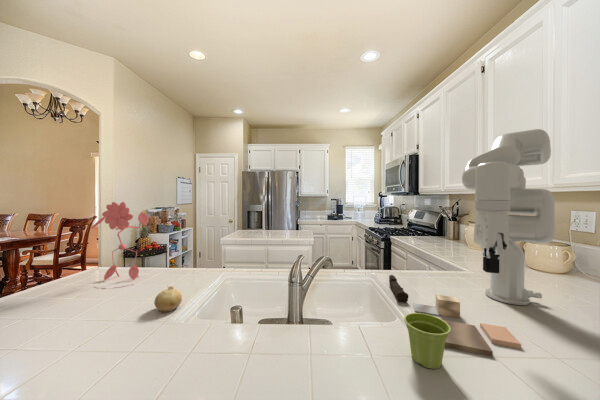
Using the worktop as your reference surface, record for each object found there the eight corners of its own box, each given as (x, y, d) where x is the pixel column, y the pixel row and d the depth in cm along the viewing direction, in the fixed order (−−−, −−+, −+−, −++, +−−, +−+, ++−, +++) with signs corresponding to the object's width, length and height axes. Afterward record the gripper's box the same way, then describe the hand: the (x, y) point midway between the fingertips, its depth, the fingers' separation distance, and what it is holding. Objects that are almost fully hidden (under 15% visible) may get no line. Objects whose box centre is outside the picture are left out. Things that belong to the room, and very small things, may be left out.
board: (474, 329, 66) (474, 325, 66) (492, 356, 54) (492, 351, 54) (419, 319, 70) (419, 316, 70) (425, 342, 59) (426, 338, 59)
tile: (505, 327, 65) (521, 344, 57) (505, 332, 65) (521, 350, 57) (480, 323, 67) (491, 338, 59) (479, 328, 67) (491, 344, 59)
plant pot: (397, 346, 58) (397, 311, 58) (435, 347, 58) (435, 312, 58) (414, 374, 49) (415, 333, 48) (460, 376, 48) (460, 335, 48)
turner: (455, 311, 77) (455, 296, 76) (460, 319, 71) (461, 303, 71) (413, 304, 81) (413, 290, 81) (414, 312, 75) (415, 297, 75)
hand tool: (408, 304, 82) (408, 291, 82) (396, 303, 83) (396, 290, 83) (397, 284, 100) (397, 274, 100) (387, 283, 101) (387, 273, 101)
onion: (185, 308, 76) (185, 287, 76) (158, 317, 71) (158, 294, 71) (176, 301, 82) (177, 281, 82) (151, 309, 76) (151, 287, 76)
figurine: (102, 275, 107) (101, 201, 106) (156, 276, 107) (156, 201, 106) (69, 289, 92) (67, 202, 91) (132, 290, 92) (131, 203, 91)
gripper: (466, 205, 72) (465, 263, 73) (487, 207, 58) (486, 279, 59) (495, 206, 70) (494, 266, 70) (524, 208, 56) (523, 283, 56)
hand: (490, 271), depth 64 cm, fingers closed
